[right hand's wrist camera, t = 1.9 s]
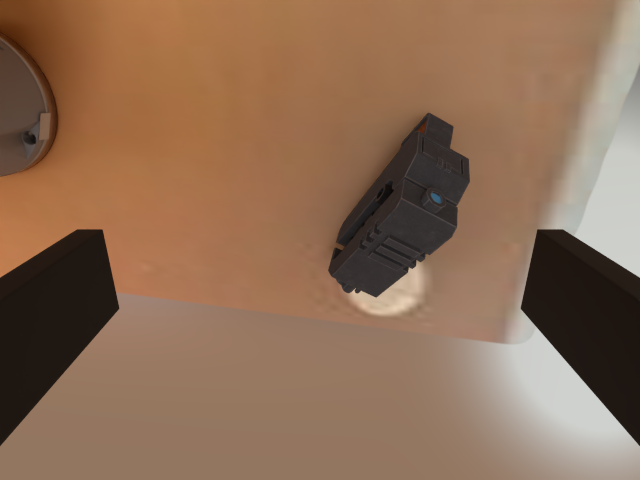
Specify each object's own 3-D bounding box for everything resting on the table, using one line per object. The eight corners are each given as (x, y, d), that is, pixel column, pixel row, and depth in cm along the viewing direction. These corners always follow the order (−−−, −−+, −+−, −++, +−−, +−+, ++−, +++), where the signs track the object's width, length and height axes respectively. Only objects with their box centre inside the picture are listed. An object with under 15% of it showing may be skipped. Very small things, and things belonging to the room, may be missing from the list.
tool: (473, 121, 41) (475, 227, 31) (376, 226, 55) (357, 321, 46) (422, 91, 40) (407, 191, 30) (337, 206, 54) (309, 299, 45)
